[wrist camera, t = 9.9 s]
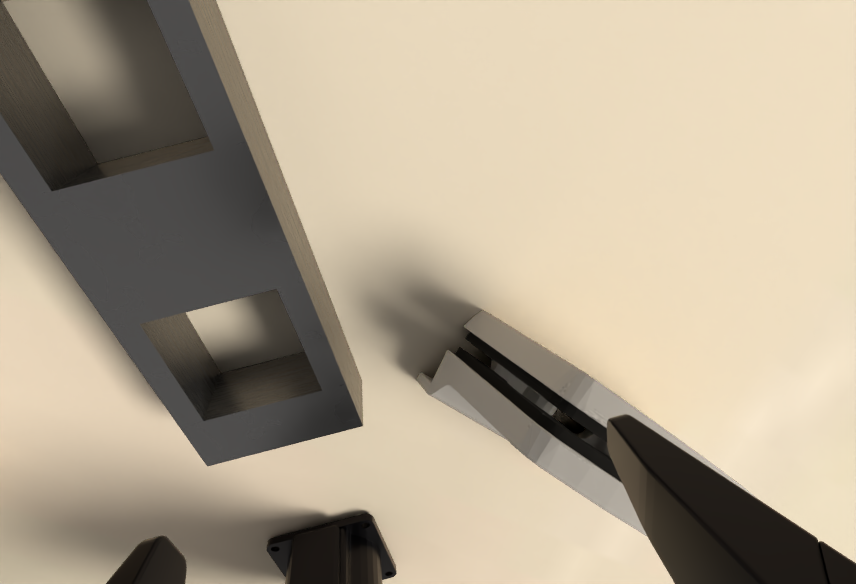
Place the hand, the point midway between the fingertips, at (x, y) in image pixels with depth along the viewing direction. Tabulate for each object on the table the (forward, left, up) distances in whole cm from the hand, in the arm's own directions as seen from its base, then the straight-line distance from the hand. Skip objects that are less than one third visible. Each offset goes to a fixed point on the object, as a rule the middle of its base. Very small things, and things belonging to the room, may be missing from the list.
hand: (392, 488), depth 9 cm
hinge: (-12, -8, -12) cm, 19 cm away
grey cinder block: (+3, +6, -12) cm, 14 cm away
